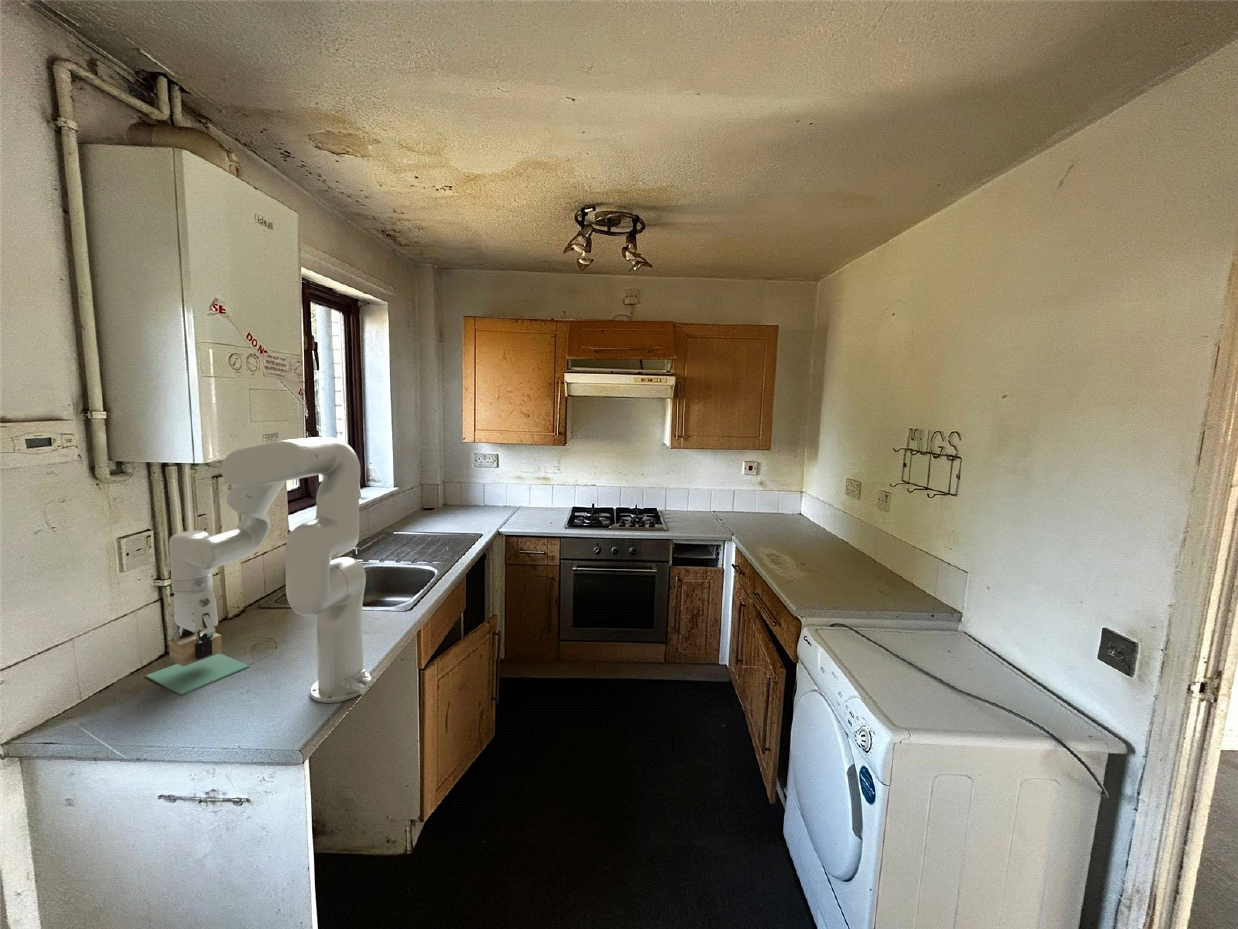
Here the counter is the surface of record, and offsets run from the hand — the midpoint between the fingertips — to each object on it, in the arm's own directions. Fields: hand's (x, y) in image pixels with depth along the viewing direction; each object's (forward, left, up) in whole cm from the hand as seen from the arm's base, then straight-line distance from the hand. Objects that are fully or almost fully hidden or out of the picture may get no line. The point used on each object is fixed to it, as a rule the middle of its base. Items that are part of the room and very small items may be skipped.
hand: (196, 652), depth 123 cm
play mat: (0, 0, -5) cm, 5 cm away
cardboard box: (0, 0, -1) cm, 1 cm away
